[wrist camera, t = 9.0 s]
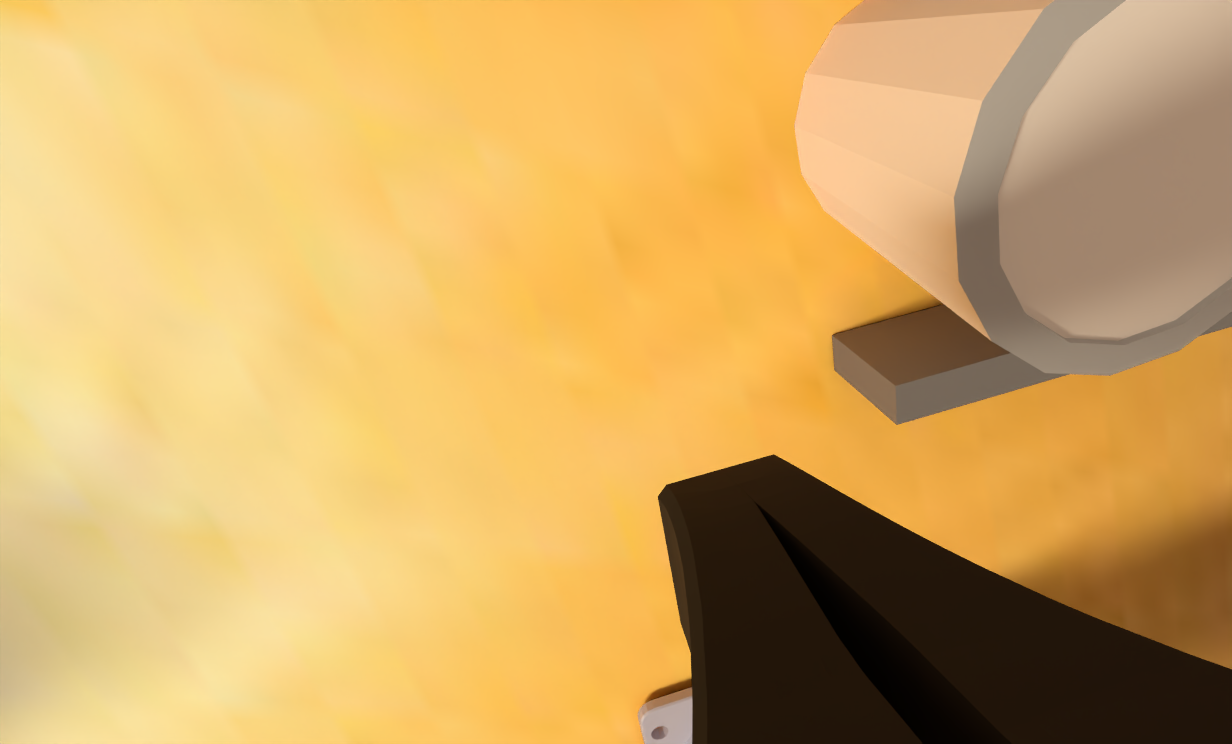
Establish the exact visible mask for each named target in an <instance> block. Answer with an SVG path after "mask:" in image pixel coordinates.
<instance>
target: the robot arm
mask: <svg viewBox="0 0 1232 744" xmlns="http://www.w3.org/2000/svg"><path fill="white" fill-rule="evenodd" d="M658 500H659V506H660V511H661V517H662V522H663V528H664V533H665V539H666V544H667V550H668V555H669V561H670V566H671V572H672V577H673V583H674V588H675V594H676V599H677V605H678V610H679V616H680V621H681V625H682V628H683V631H684V634H685V637H686V639H687V643H688V646H689V649H690V652H691V673H692V687H690V688H687V689H684V690H681V691H678V692H675V693H672V694H669V695H666V696H663V697H660V698H656V699H653V700H651V701H649V702H646V703H645V704H644V705H643V706H642V707H641V708H640V710H639V712H638V720H639V724H640V728H641V732H642V736H643V740H644V744H1232V669H1229V668H1226V667H1223V666H1221V665H1218V664H1215V663H1212V662H1209V661H1206V660H1204V659H1201V658H1198V657H1195V656H1192V655H1190V654H1187V653H1184V652H1182V651H1179V650H1177V649H1174V648H1172V647H1169V646H1166V645H1164V644H1161V643H1159V642H1156V641H1154V640H1151V639H1148V638H1146V637H1143V636H1141V635H1138V634H1136V633H1133V632H1130V631H1128V630H1125V629H1123V628H1120V627H1117V626H1115V625H1112V624H1110V623H1107V622H1105V621H1102V620H1099V619H1097V618H1095V617H1092V616H1090V615H1087V614H1085V613H1083V612H1080V611H1078V610H1076V609H1073V608H1071V607H1068V606H1066V605H1064V604H1061V603H1059V602H1057V601H1055V600H1052V599H1050V598H1048V597H1046V596H1043V595H1041V594H1039V593H1037V592H1035V591H1033V590H1030V589H1028V588H1026V587H1024V586H1022V585H1020V584H1018V583H1015V582H1013V581H1011V580H1009V579H1007V578H1005V577H1002V576H1000V575H998V574H996V573H994V572H992V571H989V570H987V569H985V568H983V567H981V566H979V565H977V564H975V563H973V562H971V561H969V560H967V559H965V558H963V557H961V556H959V555H957V554H955V553H953V552H951V551H949V550H947V549H945V548H943V547H941V546H939V545H937V544H935V543H933V542H931V541H929V540H927V539H925V538H923V537H921V536H920V535H918V534H916V533H914V532H912V531H910V530H908V529H906V528H904V527H903V526H901V525H899V524H897V523H895V522H893V521H891V520H890V519H888V518H886V517H884V516H882V515H880V514H879V513H877V512H875V511H873V510H871V509H870V508H868V507H866V506H864V505H862V504H861V503H859V502H857V501H855V500H854V499H852V498H850V497H848V496H846V495H845V494H843V493H841V492H839V491H838V490H836V489H834V488H832V487H831V486H829V485H827V484H825V483H824V482H822V481H820V480H818V479H817V478H815V477H813V476H811V475H810V474H808V473H806V472H804V471H803V470H801V469H799V468H797V467H796V466H794V465H792V464H790V463H789V462H787V461H785V460H783V459H781V458H779V457H778V456H776V455H770V456H767V457H763V458H760V459H756V460H753V461H749V462H746V463H742V464H739V465H735V466H731V467H728V468H724V469H721V470H717V471H714V472H710V473H707V474H703V475H700V476H696V477H692V478H689V479H685V480H682V481H678V482H675V483H671V484H668V485H666V486H665V488H664V489H663V490H662V492H661V493H660V494H659V496H658ZM660 726H661V727H660ZM657 727H659V728H657ZM655 728H657V729H655Z"/></svg>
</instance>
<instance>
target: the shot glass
mask: <svg viewBox="0 0 1232 744" xmlns="http://www.w3.org/2000/svg"><path fill="white" fill-rule="evenodd" d="M794 127H795V134H796V141H797V148H798V155H799V161H800V168H801V174H802V176H803V177H804V179H805V181H806V182H807V184H808V185H809V187H810V189H811V190H812V192H813V193H814V195H815V197H816V198H817V200H818V202H819V203H820V205H821V206H822V208H823V210H824V211H825V212H827V213H828V214H829V215H830V216H832V217H833V218H834V219H836V220H837V221H838V222H839V223H841V224H842V225H843V226H845V227H846V228H847V229H848V230H850V231H851V232H852V233H854V234H855V235H856V236H857V237H859V238H860V239H861V240H862V241H864V242H865V243H866V244H868V245H869V246H870V247H871V248H873V249H874V250H875V251H877V252H878V253H879V254H880V255H882V256H883V257H884V258H886V259H887V260H888V261H889V262H891V263H892V264H893V265H894V266H896V267H897V268H898V269H900V270H901V271H902V272H903V273H905V274H906V275H907V276H909V277H910V278H911V279H912V280H914V281H915V282H916V283H918V284H919V285H920V286H921V287H923V288H924V289H925V290H926V291H928V292H929V293H930V294H932V295H933V296H934V297H935V298H937V299H938V300H939V301H941V302H942V303H943V304H944V305H946V306H947V307H948V308H950V309H951V310H952V311H953V312H955V313H956V314H957V315H958V316H960V317H961V318H962V319H964V320H965V321H966V322H967V323H969V324H970V325H971V326H973V327H974V328H975V329H976V330H978V331H979V332H980V333H982V334H983V335H984V336H985V337H987V338H988V339H989V340H990V341H992V342H993V343H995V344H997V345H999V346H1000V347H1002V348H1004V349H1005V350H1007V351H1009V352H1010V353H1012V354H1014V355H1015V356H1017V357H1019V358H1020V359H1022V360H1024V361H1025V362H1027V363H1029V364H1031V365H1032V366H1034V367H1036V368H1037V369H1039V370H1041V371H1042V372H1044V373H1055V374H1082V375H1109V376H1110V375H1113V374H1116V373H1119V372H1121V371H1124V370H1127V369H1130V368H1132V367H1135V366H1138V365H1141V364H1143V363H1146V362H1149V361H1152V360H1154V359H1157V358H1160V357H1163V356H1165V355H1168V354H1171V353H1174V352H1177V351H1179V350H1181V349H1182V348H1183V347H1185V346H1186V345H1187V344H1189V343H1190V342H1191V341H1193V340H1194V339H1195V338H1197V337H1198V336H1199V335H1201V334H1202V333H1203V332H1205V331H1206V330H1207V329H1209V328H1210V327H1212V326H1213V325H1214V324H1216V323H1217V322H1218V321H1220V320H1221V319H1222V318H1224V317H1225V316H1226V315H1228V314H1229V313H1230V312H1232V0H864V1H863V2H862V3H860V4H859V5H858V6H857V7H856V8H854V9H853V10H852V11H851V12H849V13H848V14H847V15H846V16H845V17H843V18H842V19H841V20H840V21H839V22H837V23H836V24H835V25H834V26H833V28H832V30H831V31H830V33H829V35H828V36H827V38H826V40H825V41H824V43H823V45H822V46H821V48H820V50H819V51H818V53H817V55H816V56H815V58H814V60H813V61H812V63H811V65H810V66H809V68H808V70H807V71H806V73H805V78H804V82H803V87H802V92H801V97H800V101H799V106H798V111H797V115H796V120H795V125H794Z"/></svg>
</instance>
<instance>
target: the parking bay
mask: <svg viewBox="0 0 1232 744" xmlns="http://www.w3.org/2000/svg"><path fill="white" fill-rule="evenodd" d="M1228 327H1232V312H1230V313H1229V314H1228V315H1226V316H1225V317H1224V318H1222V319H1221V320H1220V321H1218V322H1217V323H1216V324H1214V325H1213V326H1212V327H1210V328H1209V329H1207V330H1206V331H1205V332H1203V333H1202V334H1201V335H1205V334H1208V333H1211V332H1215V331H1218V330H1222V329H1225V328H1228ZM1201 335H1199V336H1201ZM832 341H833V356H834V370H835V371H836V372H837V373H838V374H839V375H841V376H842V377H843V378H844V379H845V380H846V381H847V382H849V383H850V384H851V385H852V386H853V387H854V388H855V389H856V390H858V391H859V392H860V393H861V394H862V395H863V396H864V397H866V398H867V399H868V400H869V401H870V402H871V403H872V404H874V405H875V406H876V407H877V408H878V409H879V410H880V411H881V412H883V413H884V414H885V415H886V416H887V417H888V418H889V419H891V420H892V421H893V422H894V423H895V424H896V425H898V424H901V423H905V422H908V421H912V420H915V419H918V418H922V417H925V416H929V415H932V414H935V413H939V412H942V411H946V410H949V409H952V408H956V407H959V406H963V405H966V404H970V403H973V402H976V401H980V400H983V399H987V398H990V397H993V396H997V395H1000V394H1004V393H1007V392H1010V391H1014V390H1017V389H1021V388H1024V387H1027V386H1031V385H1034V384H1038V383H1041V382H1044V381H1048V380H1051V379H1055V378H1058V377H1062V376H1065V375H1068V374H1055V373H1044V372H1042V371H1041V370H1039V369H1037V368H1036V367H1034V366H1032V365H1031V364H1029V363H1027V362H1025V361H1024V360H1022V359H1020V358H1019V357H1017V356H1015V355H1014V354H1012V353H1010V352H1009V351H1007V350H1005V349H1004V348H1002V347H1000V346H999V345H997V344H995V343H993V342H992V341H990V340H989V339H988V338H987V337H985V336H984V335H983V334H982V333H980V332H979V331H978V330H976V329H975V328H974V327H973V326H971V325H970V324H969V323H967V322H966V321H965V320H964V319H962V318H961V317H960V316H958V315H957V314H956V313H955V312H953V311H952V310H951V309H950V308H948V307H947V306H946V305H944V304H943V305H940V306H936V307H932V308H929V309H925V310H921V311H918V312H914V313H911V314H907V315H903V316H900V317H896V318H892V319H889V320H885V321H882V322H878V323H874V324H871V325H867V326H863V327H860V328H856V329H853V330H849V331H845V332H842V333H838V334H834V335H832Z"/></svg>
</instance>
